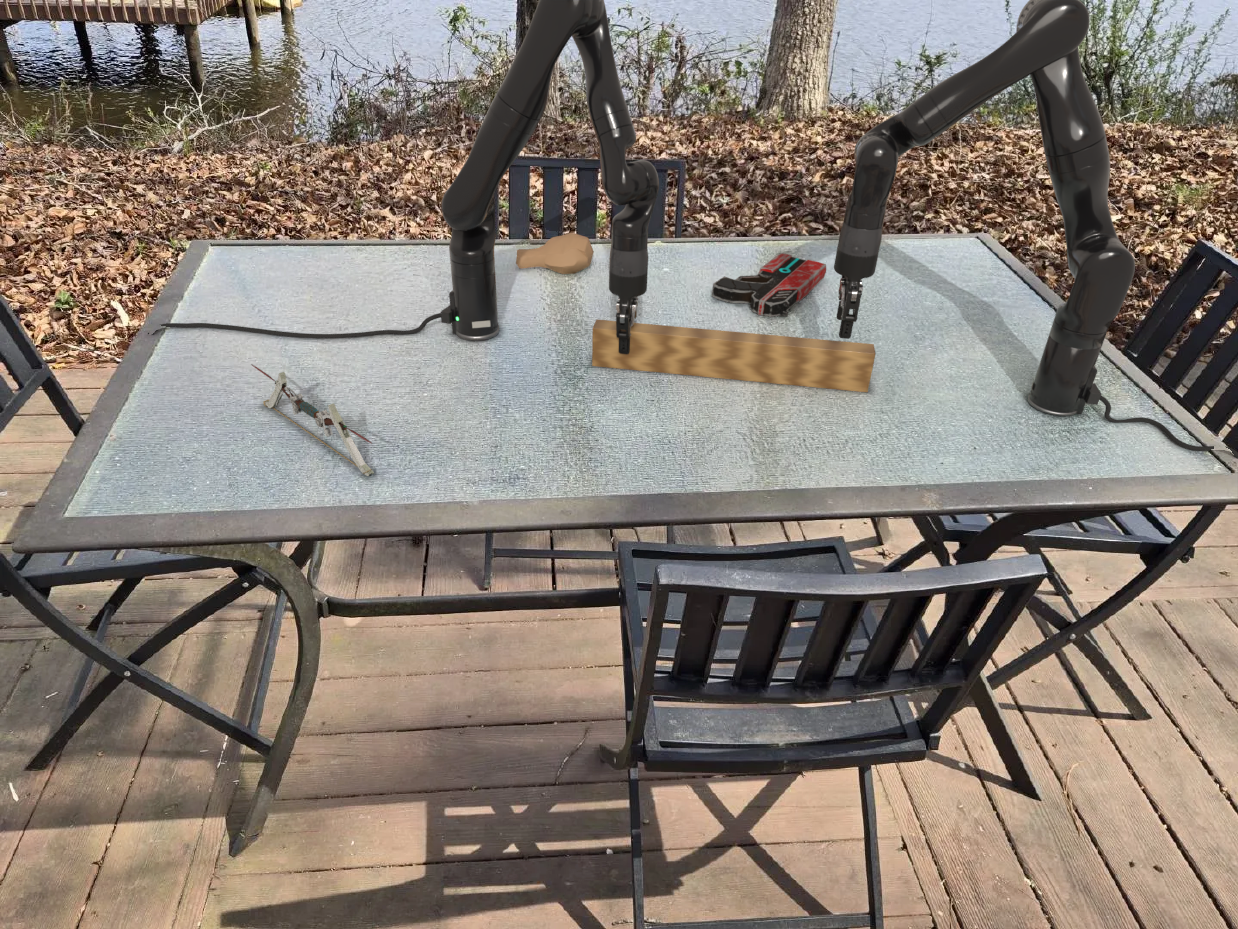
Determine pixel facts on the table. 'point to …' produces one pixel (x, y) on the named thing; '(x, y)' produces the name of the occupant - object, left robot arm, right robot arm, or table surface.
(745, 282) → the gun
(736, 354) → the post
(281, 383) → the bow
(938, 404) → the table surface
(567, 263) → the squash
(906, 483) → the table surface
